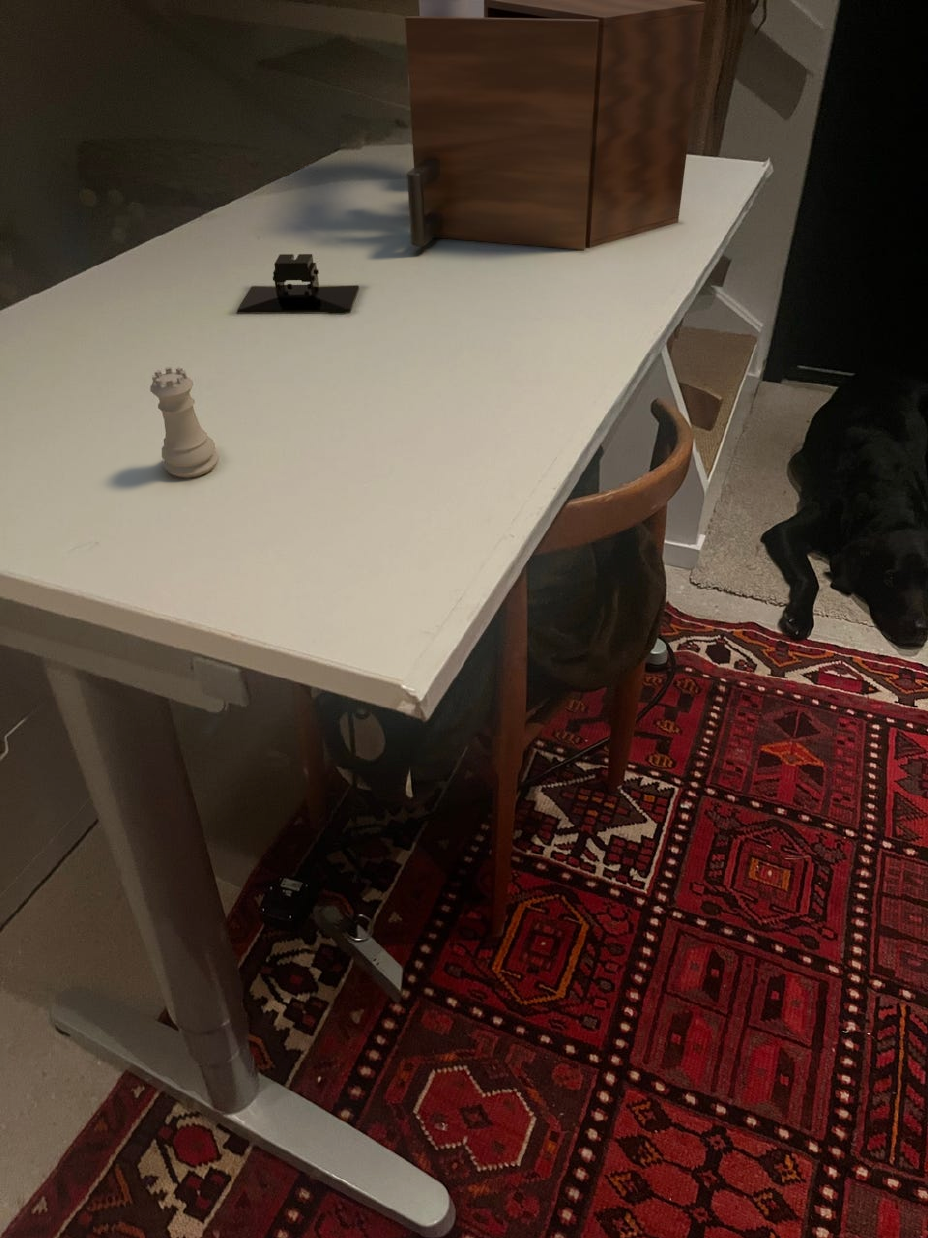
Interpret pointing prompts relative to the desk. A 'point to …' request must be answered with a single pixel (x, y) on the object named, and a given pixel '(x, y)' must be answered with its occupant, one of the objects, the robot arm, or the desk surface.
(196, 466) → the rook chess piece
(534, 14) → the cupboard
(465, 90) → the cupboard door
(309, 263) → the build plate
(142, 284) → the desk surface
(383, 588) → the desk surface
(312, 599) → the desk surface
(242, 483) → the desk surface
